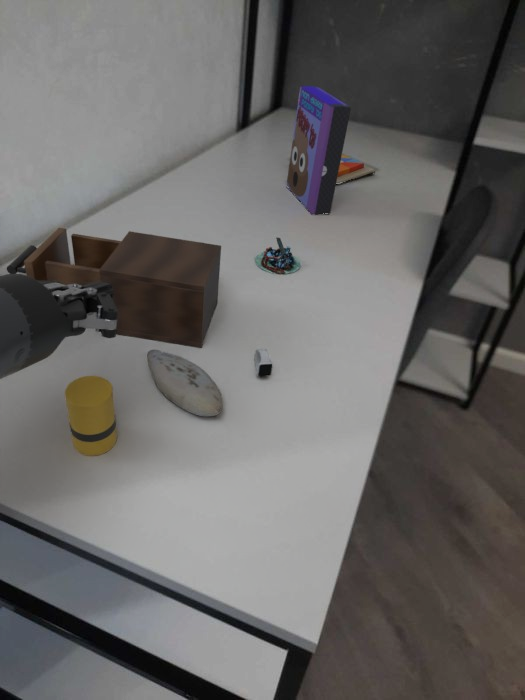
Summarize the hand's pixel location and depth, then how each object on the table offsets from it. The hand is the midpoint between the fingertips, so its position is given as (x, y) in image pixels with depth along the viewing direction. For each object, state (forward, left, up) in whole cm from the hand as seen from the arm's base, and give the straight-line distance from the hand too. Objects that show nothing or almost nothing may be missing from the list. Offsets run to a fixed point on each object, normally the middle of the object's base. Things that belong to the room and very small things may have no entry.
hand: (105, 291), depth 55 cm
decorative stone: (+7, +6, -18) cm, 20 cm away
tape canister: (-1, -5, -18) cm, 19 cm away
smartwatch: (+17, +12, -18) cm, 28 cm away
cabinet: (0, +22, -18) cm, 28 cm away
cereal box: (+20, +81, -18) cm, 85 cm away
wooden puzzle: (+26, +106, -18) cm, 111 cm away
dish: (+16, +46, -18) cm, 52 cm away
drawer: (-14, +22, -17) cm, 31 cm away
